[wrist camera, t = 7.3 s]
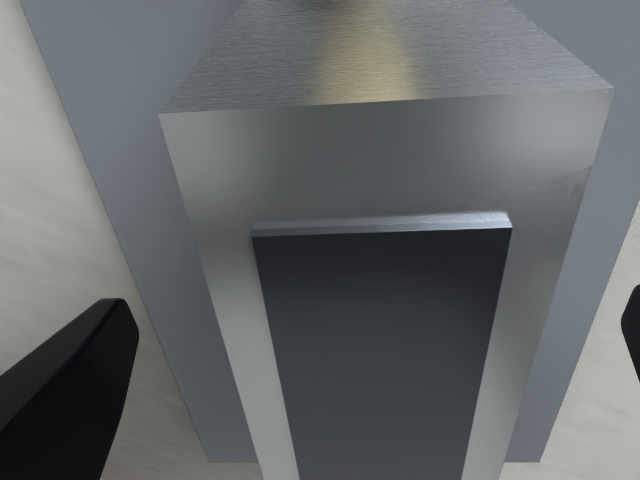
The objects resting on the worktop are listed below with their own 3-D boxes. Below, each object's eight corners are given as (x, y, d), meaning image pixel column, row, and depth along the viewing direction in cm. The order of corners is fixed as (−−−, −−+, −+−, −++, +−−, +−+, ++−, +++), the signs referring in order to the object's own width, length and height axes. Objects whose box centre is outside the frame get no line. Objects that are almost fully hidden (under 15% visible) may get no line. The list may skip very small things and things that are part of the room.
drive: (419, 356, 14) (460, 617, 9) (315, 358, 14) (300, 613, 9) (450, -44, 8) (621, 94, 3) (268, -30, 8) (152, 120, 3)
